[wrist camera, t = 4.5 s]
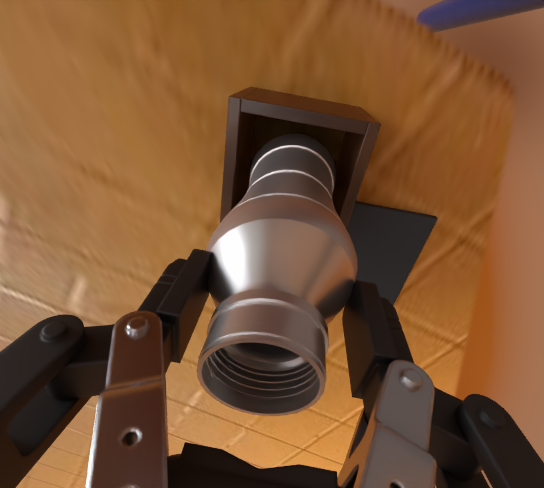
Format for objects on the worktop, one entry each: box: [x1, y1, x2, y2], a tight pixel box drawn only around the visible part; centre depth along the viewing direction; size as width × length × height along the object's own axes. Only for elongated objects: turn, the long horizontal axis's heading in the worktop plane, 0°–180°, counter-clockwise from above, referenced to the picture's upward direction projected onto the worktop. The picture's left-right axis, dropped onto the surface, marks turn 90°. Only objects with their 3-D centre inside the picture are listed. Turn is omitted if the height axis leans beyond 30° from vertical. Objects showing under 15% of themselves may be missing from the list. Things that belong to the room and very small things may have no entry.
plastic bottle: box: [197, 133, 357, 416], centre depth 17 cm, size 6×7×20 cm
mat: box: [346, 201, 437, 305], centre depth 32 cm, size 12×12×1 cm
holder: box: [220, 87, 381, 228], centre depth 24 cm, size 11×10×8 cm
